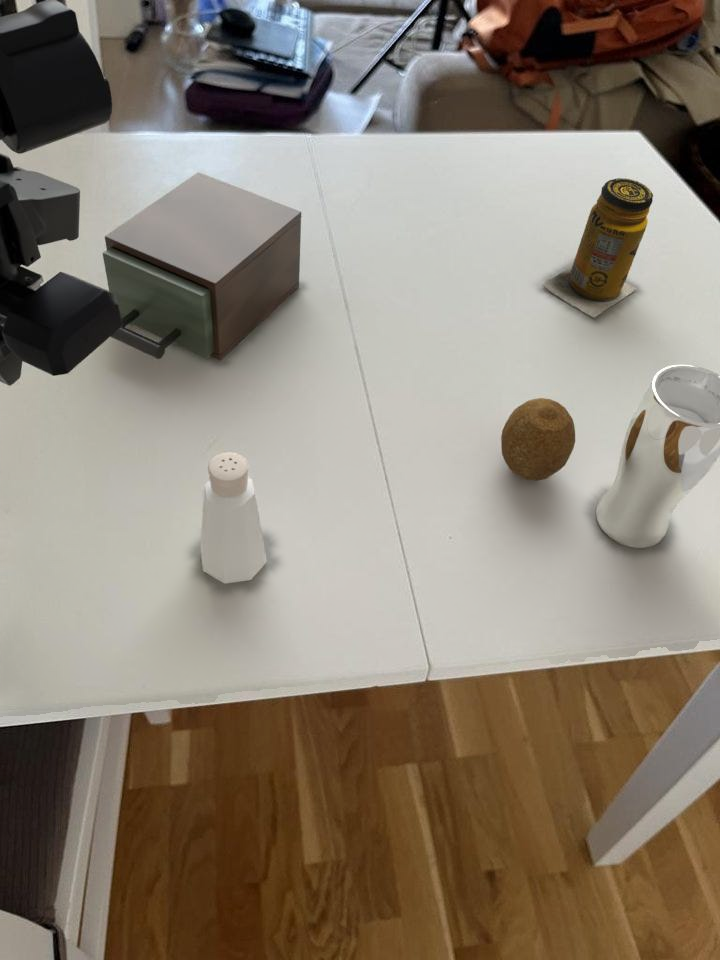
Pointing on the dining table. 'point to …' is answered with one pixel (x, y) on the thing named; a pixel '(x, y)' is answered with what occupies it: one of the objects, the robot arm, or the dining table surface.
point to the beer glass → (663, 454)
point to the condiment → (606, 248)
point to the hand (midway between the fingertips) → (11, 380)
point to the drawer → (159, 306)
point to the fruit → (538, 439)
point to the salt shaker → (231, 522)
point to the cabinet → (220, 250)
